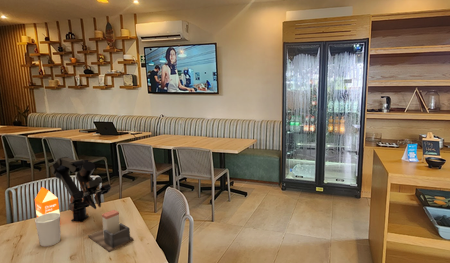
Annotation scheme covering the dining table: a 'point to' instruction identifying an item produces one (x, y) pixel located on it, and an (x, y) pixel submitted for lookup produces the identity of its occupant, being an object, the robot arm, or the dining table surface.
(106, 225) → the switch lever
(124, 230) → the switch base
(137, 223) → the dining table surface
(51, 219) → the white cup
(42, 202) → the orange juice
